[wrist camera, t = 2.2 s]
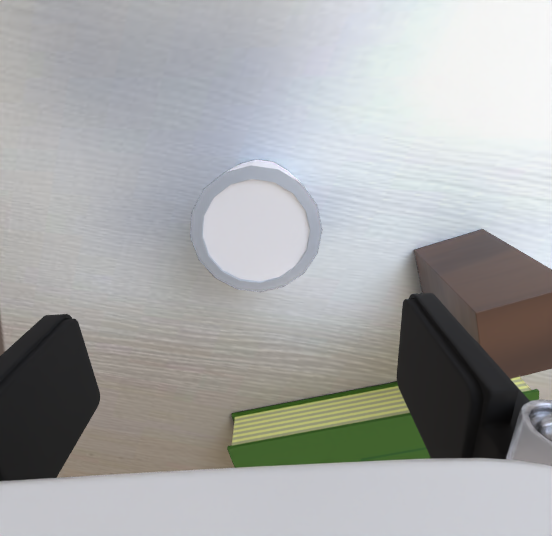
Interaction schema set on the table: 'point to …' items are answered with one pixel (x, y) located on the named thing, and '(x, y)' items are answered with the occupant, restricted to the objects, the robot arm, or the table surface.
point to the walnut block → (493, 297)
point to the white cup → (256, 227)
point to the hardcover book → (333, 429)
